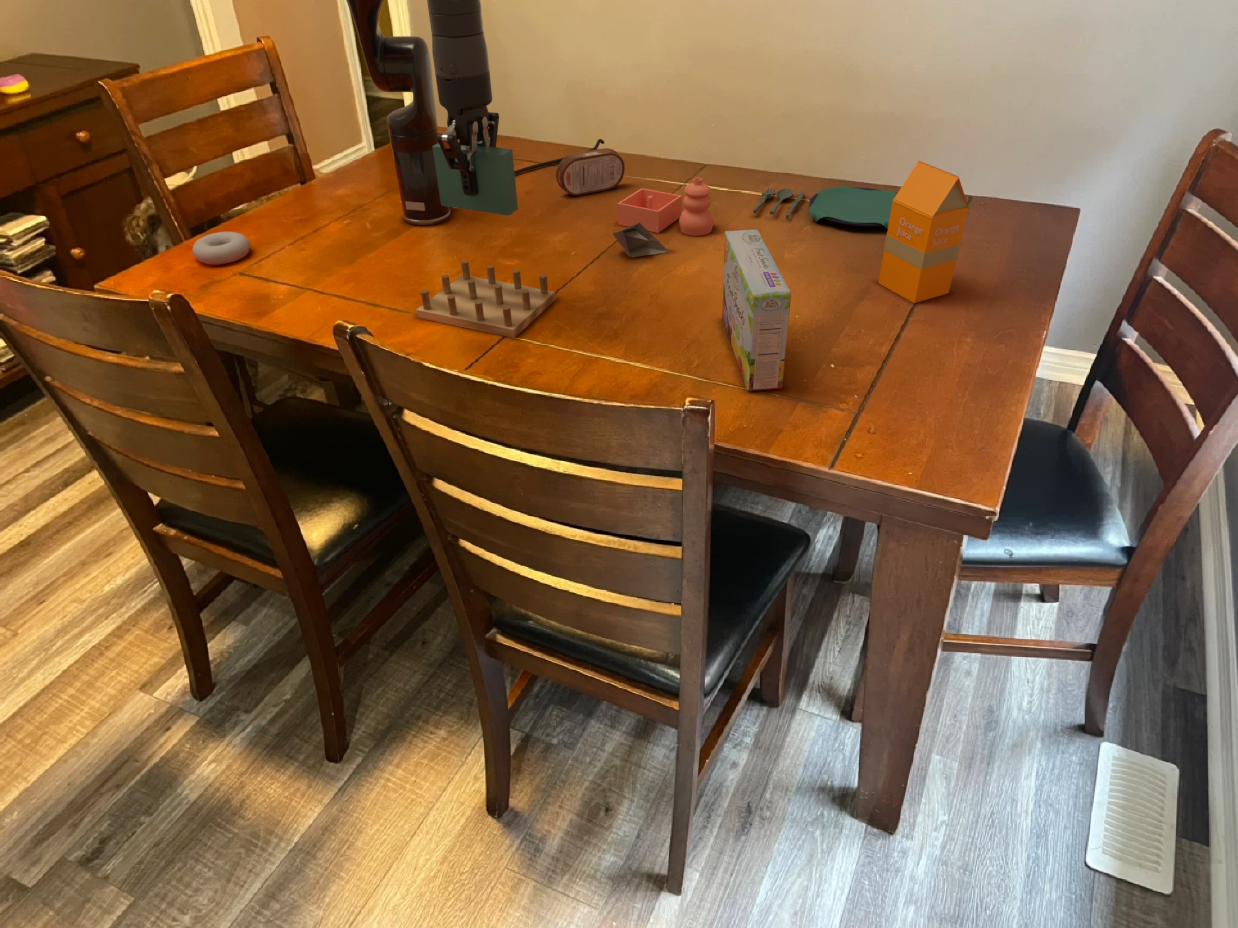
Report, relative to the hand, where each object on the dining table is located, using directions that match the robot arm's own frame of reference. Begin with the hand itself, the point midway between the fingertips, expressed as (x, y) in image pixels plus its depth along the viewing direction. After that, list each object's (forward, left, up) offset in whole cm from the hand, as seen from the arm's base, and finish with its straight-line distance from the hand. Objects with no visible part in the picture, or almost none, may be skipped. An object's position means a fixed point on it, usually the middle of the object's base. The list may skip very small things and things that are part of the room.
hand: (476, 190), depth 129 cm
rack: (+1, 0, -19) cm, 19 cm away
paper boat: (-27, +15, -20) cm, 37 cm away
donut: (+1, -57, -20) cm, 60 cm away
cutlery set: (-61, +43, -20) cm, 77 cm away
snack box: (-1, +44, -20) cm, 48 cm away
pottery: (-43, +15, -20) cm, 50 cm away
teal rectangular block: (0, 0, -3) cm, 3 cm away
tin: (-54, -7, -20) cm, 58 cm away
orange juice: (-32, +63, -20) cm, 73 cm away
